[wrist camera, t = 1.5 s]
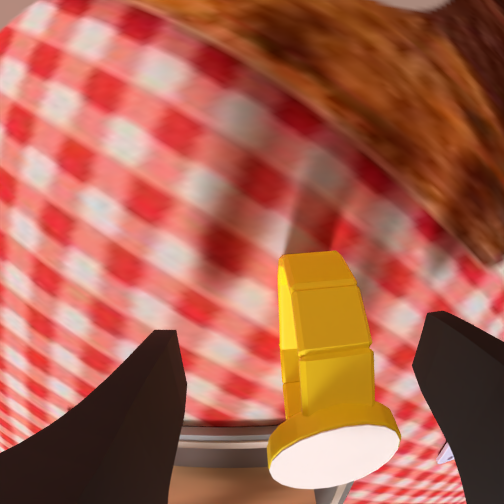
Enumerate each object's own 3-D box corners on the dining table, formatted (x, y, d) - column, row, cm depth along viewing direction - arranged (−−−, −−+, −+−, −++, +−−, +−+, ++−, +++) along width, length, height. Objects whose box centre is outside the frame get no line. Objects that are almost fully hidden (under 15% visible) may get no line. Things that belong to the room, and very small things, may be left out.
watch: (332, 364, 12) (369, 499, 7) (261, 371, 12) (271, 514, 7) (344, 219, 9) (444, 358, 4) (250, 224, 9) (261, 387, 4)
